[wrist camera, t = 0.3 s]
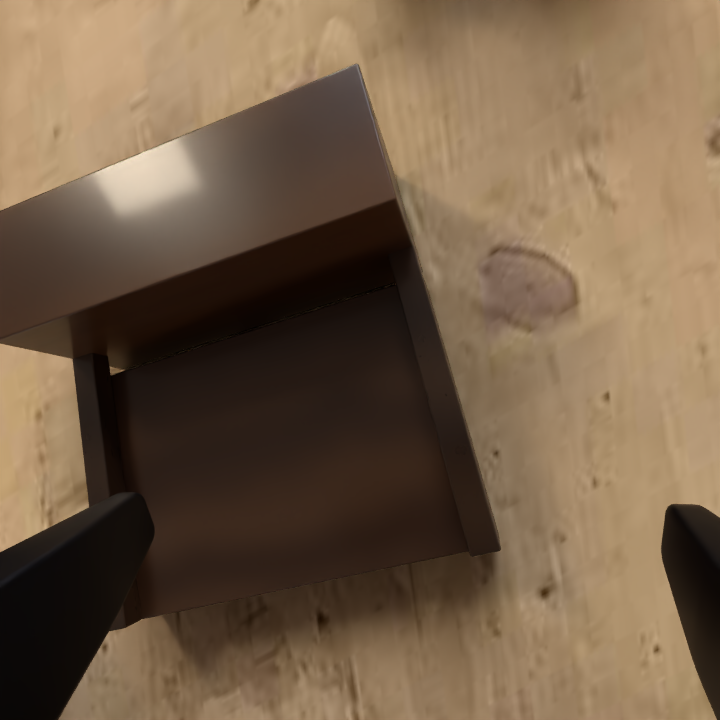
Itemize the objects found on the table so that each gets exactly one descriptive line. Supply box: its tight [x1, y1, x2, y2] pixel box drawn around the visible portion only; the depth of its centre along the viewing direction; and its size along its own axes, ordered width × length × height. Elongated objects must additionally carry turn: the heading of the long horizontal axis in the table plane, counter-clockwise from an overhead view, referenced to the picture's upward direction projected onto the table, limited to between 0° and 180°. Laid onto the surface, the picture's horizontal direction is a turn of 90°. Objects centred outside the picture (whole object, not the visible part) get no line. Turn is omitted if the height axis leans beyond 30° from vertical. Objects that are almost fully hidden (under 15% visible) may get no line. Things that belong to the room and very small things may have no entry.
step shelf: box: [0, 64, 501, 631], centre depth 22 cm, size 19×18×8 cm
